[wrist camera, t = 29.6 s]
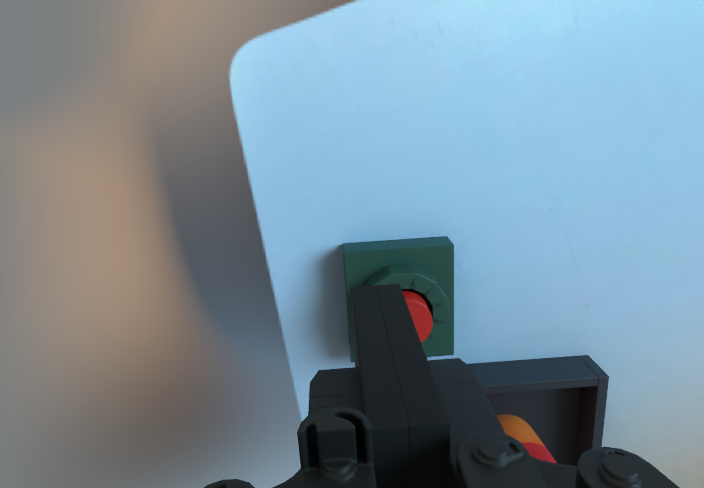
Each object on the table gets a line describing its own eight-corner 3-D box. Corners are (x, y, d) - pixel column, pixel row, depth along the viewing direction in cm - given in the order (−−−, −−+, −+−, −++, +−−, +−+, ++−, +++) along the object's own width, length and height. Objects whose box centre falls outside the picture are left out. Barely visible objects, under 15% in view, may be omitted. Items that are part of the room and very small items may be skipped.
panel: (349, 348, 41) (351, 375, 37) (342, 243, 38) (344, 260, 34) (447, 341, 41) (459, 367, 37) (447, 236, 38) (460, 252, 34)
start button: (379, 337, 37) (381, 349, 35) (377, 292, 35) (379, 302, 34) (428, 334, 37) (433, 345, 35) (427, 288, 36) (432, 298, 34)
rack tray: (417, 507, 46) (424, 538, 43) (414, 367, 41) (420, 390, 38) (575, 495, 46) (593, 525, 43) (588, 354, 42) (609, 376, 39)
